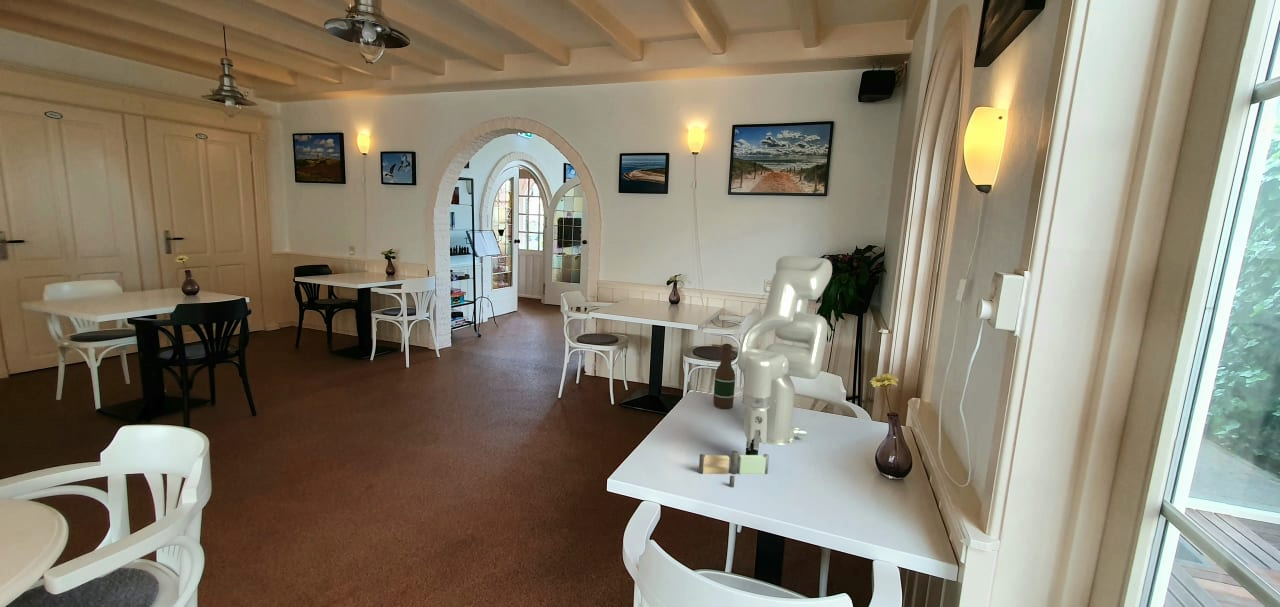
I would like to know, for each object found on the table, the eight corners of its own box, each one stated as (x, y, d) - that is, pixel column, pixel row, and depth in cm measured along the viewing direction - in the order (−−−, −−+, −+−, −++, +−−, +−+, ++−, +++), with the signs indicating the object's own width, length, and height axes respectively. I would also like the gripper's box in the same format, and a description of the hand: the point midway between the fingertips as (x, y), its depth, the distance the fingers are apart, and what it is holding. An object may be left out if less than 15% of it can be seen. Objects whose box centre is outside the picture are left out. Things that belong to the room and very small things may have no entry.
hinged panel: (739, 474, 139) (741, 456, 138) (738, 471, 140) (739, 453, 139) (768, 474, 139) (769, 456, 139) (766, 471, 141) (768, 453, 140)
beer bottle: (735, 404, 195) (740, 343, 192) (730, 410, 188) (734, 348, 185) (715, 400, 199) (720, 341, 195) (710, 407, 192) (714, 345, 188)
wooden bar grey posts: (735, 472, 140) (737, 450, 139) (744, 488, 132) (746, 465, 131) (698, 472, 140) (699, 450, 139) (704, 488, 131) (705, 465, 130)
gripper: (775, 410, 134) (769, 475, 137) (764, 392, 149) (759, 451, 152) (747, 408, 135) (742, 473, 137) (738, 390, 149) (733, 449, 152)
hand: (751, 461), depth 145 cm, fingers closed
